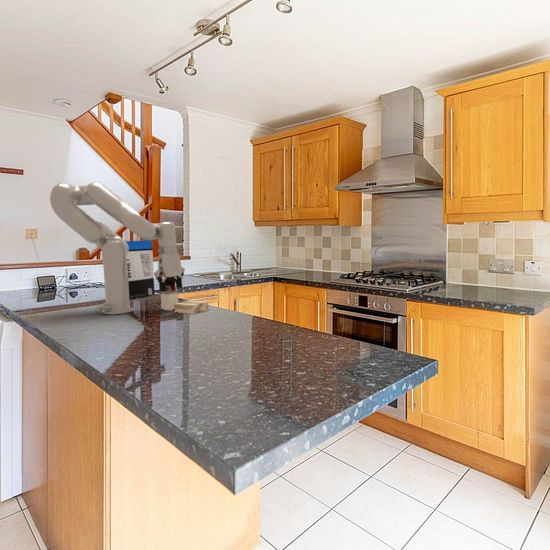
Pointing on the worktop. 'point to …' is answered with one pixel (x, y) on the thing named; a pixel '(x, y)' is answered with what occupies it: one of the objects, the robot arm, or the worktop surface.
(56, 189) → the robot arm
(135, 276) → the protein powder
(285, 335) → the worktop surface
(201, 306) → the block
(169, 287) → the coffee cup
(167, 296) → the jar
